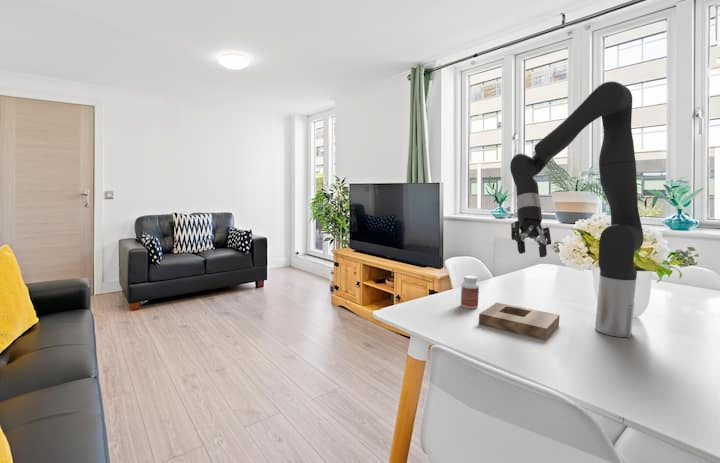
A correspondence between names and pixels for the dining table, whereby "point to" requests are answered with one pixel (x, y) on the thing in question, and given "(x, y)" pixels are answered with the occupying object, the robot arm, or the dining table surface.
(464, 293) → the pill bottle
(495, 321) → the socket block
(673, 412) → the dining table surface
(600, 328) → the robot arm
